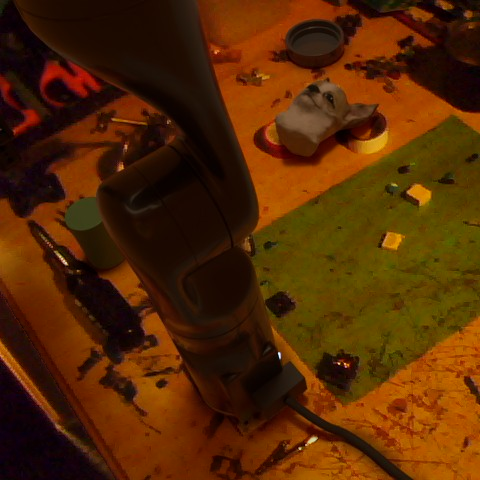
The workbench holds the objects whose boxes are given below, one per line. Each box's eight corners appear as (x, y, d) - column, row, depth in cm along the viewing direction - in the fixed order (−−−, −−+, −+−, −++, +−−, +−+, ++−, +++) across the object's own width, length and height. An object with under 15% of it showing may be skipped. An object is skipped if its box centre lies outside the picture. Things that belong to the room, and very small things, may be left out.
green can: (135, 253, 84) (114, 214, 78) (100, 276, 83) (76, 237, 76) (116, 230, 87) (94, 190, 80) (82, 251, 85) (57, 212, 79)
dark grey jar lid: (356, 50, 104) (355, 36, 102) (311, 77, 101) (309, 64, 99) (319, 24, 109) (318, 11, 107) (275, 50, 106) (273, 37, 104)
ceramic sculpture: (247, 96, 87) (323, 42, 93) (255, 145, 93) (325, 91, 100) (309, 132, 82) (384, 72, 89) (312, 181, 89) (382, 122, 96)
